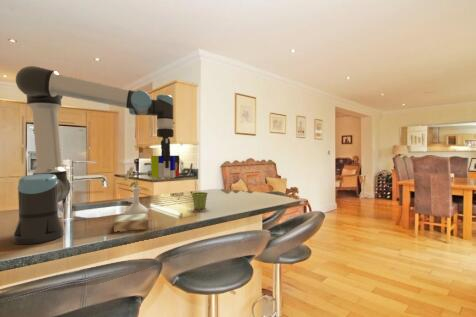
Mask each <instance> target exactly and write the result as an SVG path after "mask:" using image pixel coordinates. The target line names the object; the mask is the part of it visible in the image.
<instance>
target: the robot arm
mask: <svg viewBox="0 0 476 317" xmlns="http://www.w3.org/2000/svg"><path fill="white" fill-rule="evenodd" d="M15 84H16V86H17V88H18V89H19V91H20V92H22V93H23V94H24V95H26V105H27V107H29V108H30V109H31V111H32V120H33V121H32V122H33V132H34V146H35V147H34V148H35V158H36V160H35V161H36V168H35V170H34V171H33V172H32V174H31V175H30V174H29V175H24V176H22V177H20V178H19V179H18V184H17V191H18V192H17V193H18V197H17V198H18V221H17V224H16V227H15V229H14V232H13V235H12V243H13V244H16V245H31V244H40V243H46V242H50V241H54V240H57V239H59V238H62V237H63V236H64V231H65V230H64V227H63V224H62V222H61V219H60V217H59V215H58V214H59V213H58V211H59V208H58V207H59V204H58V203H60V202H62V201H64V200H65V199H66V198H67V197H68V196H69V193H70V192H71V182H70V180H69V179H68V175H67V170H66V169H65V168H64V167H63V164H62V152H61V151H62V150H61V137H60V136H61V135H60V128H59V126H60V123H59V113H58V111H59V110H60V109H61V108H62V99H63V98H64V97H67V98H73V99H76V100H77V99H78V100H82V101H86V102H87V101H88V102H94V103H99V104H103V105H109V106H116V107H120V108H124V109H128V111H129V114H130V115H132V116H133V115H134V116H156V128H157V129H156V137H157V138H161V141H160V148H161V153H160V154H161V155H160V156H164V159H162V161H164V176H170V159H171V158H170V156H171V139H170V138H174V137H175V135H174V134H175V133H174V132H175V131H174V125H175V122H174V99H173V96H171V95H169V94H158V95H156V98H151V96H150V94H149V92H147V91H144V90H142V89H140V90H132V89H128V88H123V87H118V86H113V85H108V84H103V83H99V82H96V81H90V80H85V79H82V78H81V79H80V78H77V77H72V76H66V75H61V74H59V72H58V71H56V70H52V69H49V68H48V69H47V68H44V67H39V66H35V65H29V66H25V67H22V68H21V69H20V70H18V72H17V74H16V75H15Z"/></svg>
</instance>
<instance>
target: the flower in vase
mask: <svg viewBox="0 0 476 317" xmlns="http://www.w3.org/2000/svg"><path fill="white" fill-rule="evenodd" d="M133 171H134V166H130V168H129V170H127V171H126V174H125V175H124V178H123V180H124V181H127V180H128V179H130V177H131V178H132V180H133V181H132V182H131V183H130V184H129V187H131V188H130V189H131V191H132V193H133V203H132V204H131V205H130V206H129V207H127V208H126V209H125V211H124V215H133V214H146V213H148V214H149V209H148V208H147V207H146V206H144V205H143V204H142V203H140V199H139V198H140V193H141V190H142V187H137V186H139V185H140V183H139V181H138V180H136V181H135V178H134V176H133V174H132V173H133ZM133 186H135V187H133Z"/></svg>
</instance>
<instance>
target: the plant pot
mask: <svg viewBox="0 0 476 317" xmlns="http://www.w3.org/2000/svg"><path fill="white" fill-rule="evenodd" d="M208 193H209V192H205V191H204V192H203V191H200V192H199V191H198V192H197V191H196V192H191V193H190V194H191V197H192V201H193V207H194V210H201V209H202V210H205V209H206V204H207V198H208V197H207V196H208Z"/></svg>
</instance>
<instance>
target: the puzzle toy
mask: <svg viewBox="0 0 476 317" xmlns="http://www.w3.org/2000/svg"><path fill="white" fill-rule="evenodd" d="M150 156H151V157H150V164H151V165H150V167H151V171H150V172H151V178H152V179H166V178H167V179H175V178H177V177H180V155H170V158H171V159H170V176H164V161H162V159H164V156H161V155H150Z"/></svg>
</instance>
